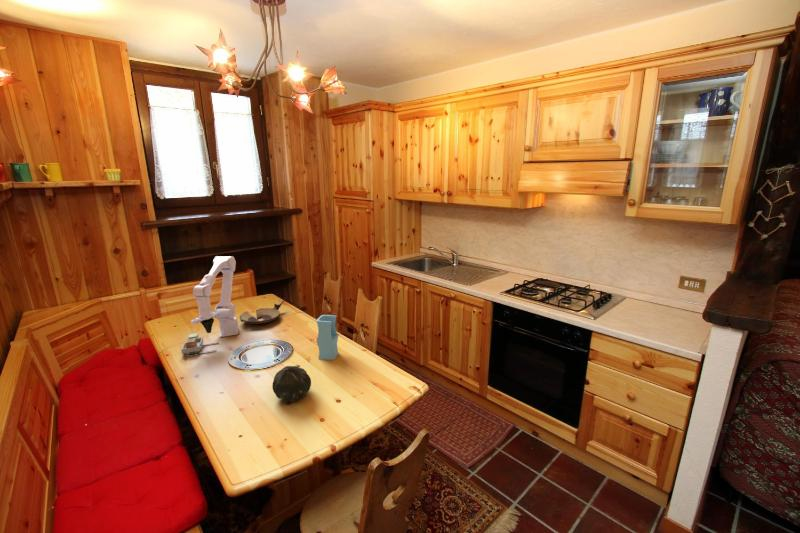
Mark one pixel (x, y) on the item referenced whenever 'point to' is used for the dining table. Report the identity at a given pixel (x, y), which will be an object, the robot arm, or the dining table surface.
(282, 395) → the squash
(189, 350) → the grey shallow tray
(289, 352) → the dining table surface
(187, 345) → the copper block
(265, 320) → the broken bowl
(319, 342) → the vase
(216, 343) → the rails
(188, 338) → the green block
